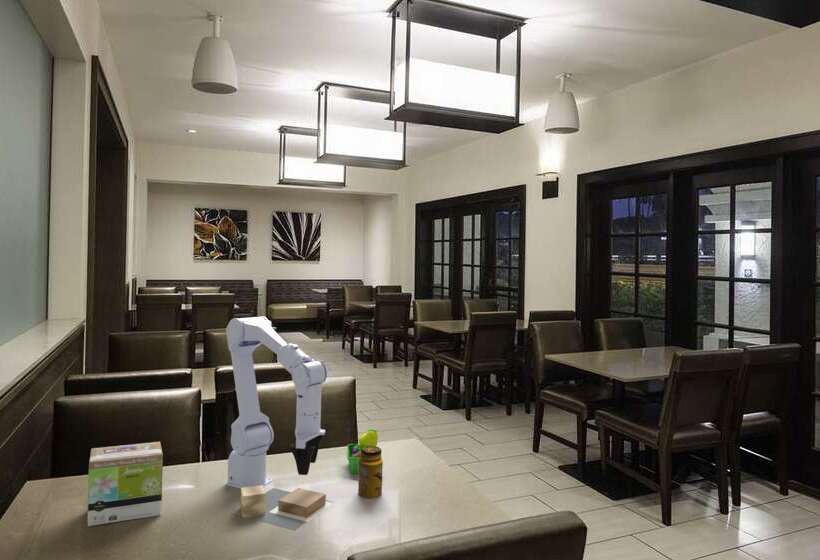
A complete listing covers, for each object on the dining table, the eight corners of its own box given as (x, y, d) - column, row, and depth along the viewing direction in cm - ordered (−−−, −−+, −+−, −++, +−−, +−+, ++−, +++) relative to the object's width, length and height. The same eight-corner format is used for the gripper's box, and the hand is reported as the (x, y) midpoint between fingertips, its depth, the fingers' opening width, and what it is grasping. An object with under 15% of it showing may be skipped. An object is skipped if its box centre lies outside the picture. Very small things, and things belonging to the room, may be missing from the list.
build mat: (230, 514, 130) (230, 513, 130) (273, 489, 144) (273, 487, 144) (296, 532, 122) (296, 530, 122) (335, 503, 137) (335, 502, 137)
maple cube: (242, 517, 128) (242, 496, 127) (240, 508, 132) (241, 487, 132) (265, 514, 130) (265, 493, 129) (262, 505, 134) (262, 485, 134)
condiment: (388, 497, 142) (389, 450, 141) (358, 504, 137) (359, 456, 137) (374, 487, 148) (375, 442, 148) (345, 493, 143) (346, 447, 143)
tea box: (86, 529, 121) (87, 462, 121) (89, 510, 130) (89, 447, 130) (162, 516, 128) (163, 452, 128) (159, 498, 137) (160, 439, 137)
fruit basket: (346, 460, 166) (347, 423, 166) (376, 460, 167) (377, 423, 167) (346, 475, 155) (347, 435, 155) (378, 475, 156) (379, 435, 156)
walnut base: (278, 510, 132) (278, 500, 132) (298, 497, 139) (298, 487, 139) (306, 517, 128) (307, 507, 128) (325, 504, 136) (325, 494, 136)
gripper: (318, 421, 126) (316, 481, 126) (331, 404, 140) (329, 458, 141) (287, 420, 126) (286, 479, 127) (303, 403, 140) (302, 456, 141)
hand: (307, 468), depth 134 cm, fingers open, 7 cm apart
